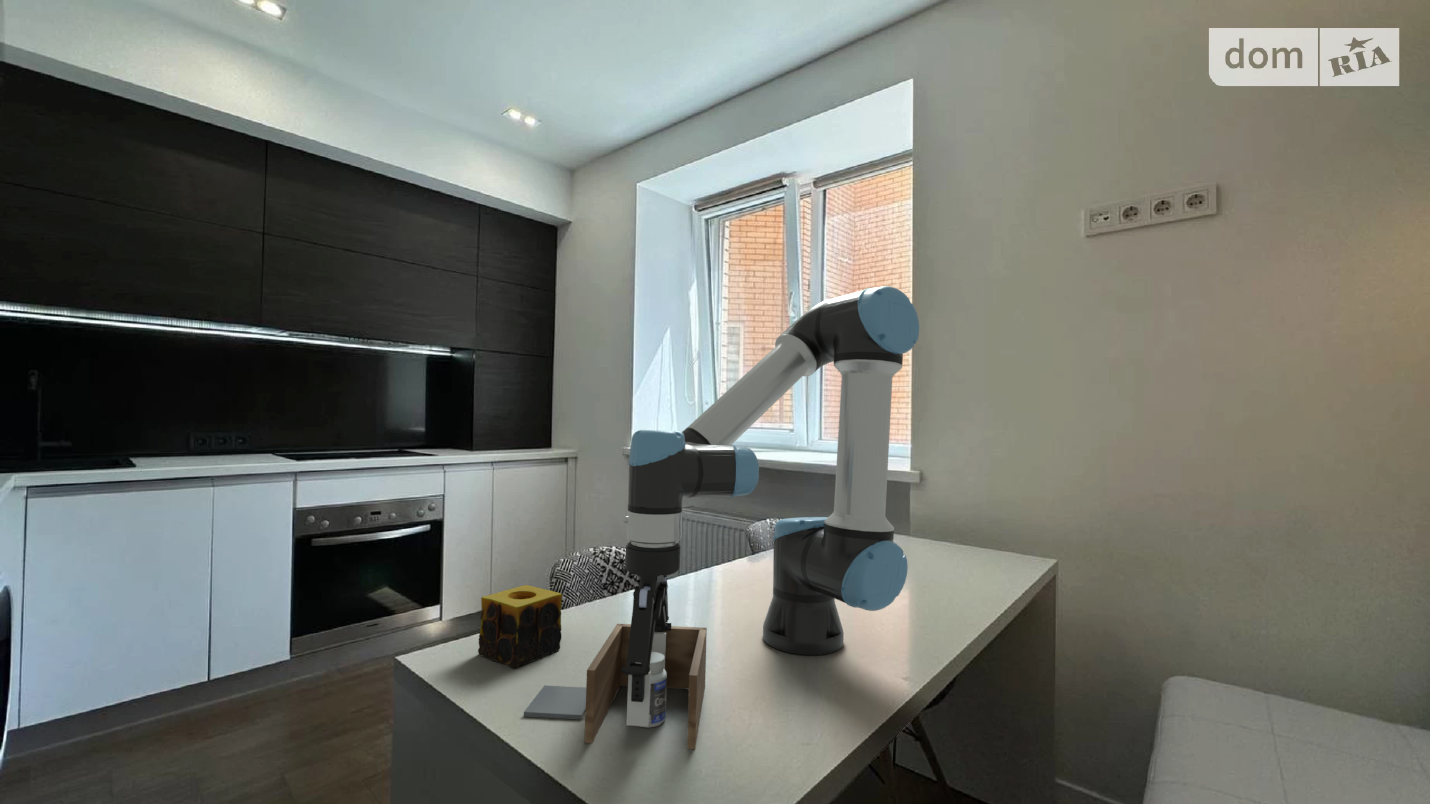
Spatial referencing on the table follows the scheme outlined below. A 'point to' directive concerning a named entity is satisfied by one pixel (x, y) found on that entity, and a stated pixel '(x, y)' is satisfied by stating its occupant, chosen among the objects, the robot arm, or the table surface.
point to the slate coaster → (558, 703)
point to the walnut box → (680, 665)
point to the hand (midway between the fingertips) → (647, 699)
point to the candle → (520, 625)
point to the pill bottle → (657, 690)
